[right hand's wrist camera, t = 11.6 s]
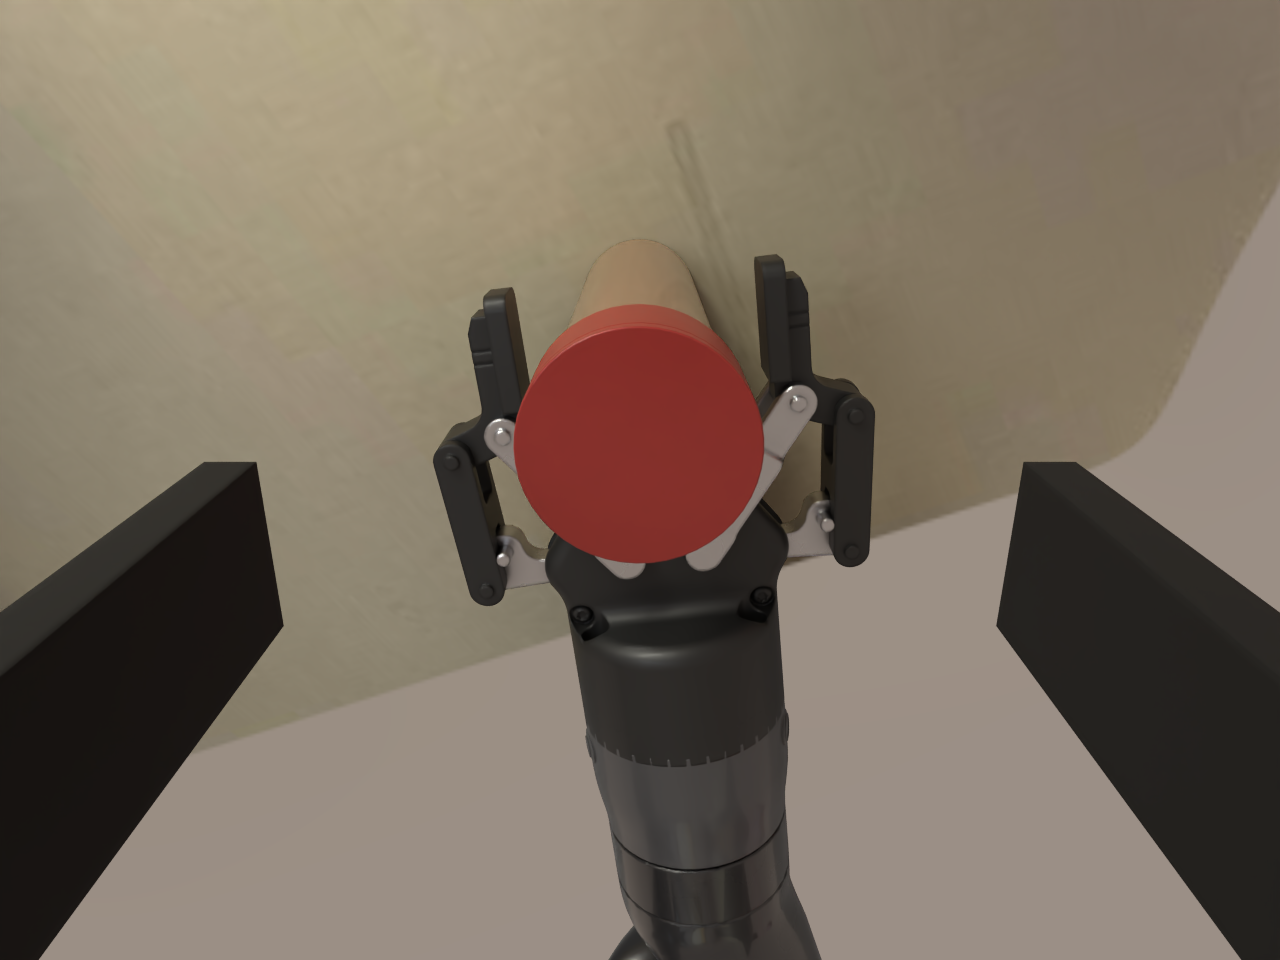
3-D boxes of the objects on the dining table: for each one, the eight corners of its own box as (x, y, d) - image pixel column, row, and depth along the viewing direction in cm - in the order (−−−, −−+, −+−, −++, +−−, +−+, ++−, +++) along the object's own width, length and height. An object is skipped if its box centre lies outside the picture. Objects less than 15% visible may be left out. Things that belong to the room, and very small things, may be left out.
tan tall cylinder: (562, 304, 35) (488, 460, 18) (630, 215, 33) (620, 291, 17) (647, 371, 36) (654, 578, 19) (717, 287, 34) (790, 428, 18)
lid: (483, 431, 20) (463, 469, 17) (620, 255, 18) (617, 271, 16) (655, 555, 21) (657, 607, 18) (796, 398, 19) (816, 433, 17)
